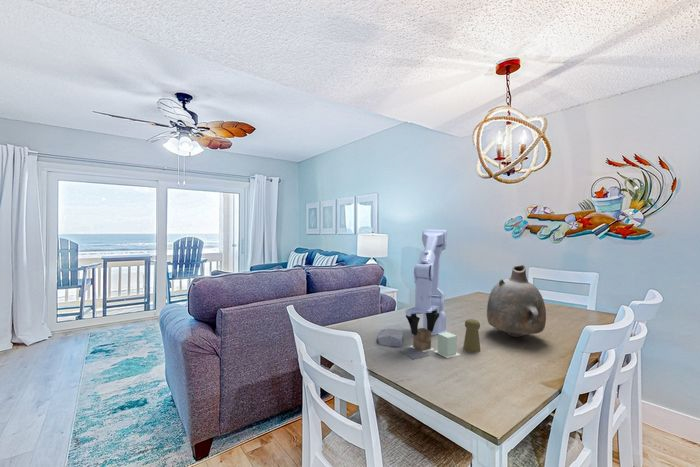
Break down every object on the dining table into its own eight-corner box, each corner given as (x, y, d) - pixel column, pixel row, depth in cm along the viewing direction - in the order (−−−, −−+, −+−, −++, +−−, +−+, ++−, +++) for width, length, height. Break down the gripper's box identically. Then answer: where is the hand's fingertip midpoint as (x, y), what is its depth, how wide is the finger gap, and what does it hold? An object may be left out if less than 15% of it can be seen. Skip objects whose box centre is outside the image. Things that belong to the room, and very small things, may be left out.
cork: (480, 347, 115) (480, 318, 114) (481, 353, 109) (482, 323, 109) (462, 345, 117) (463, 316, 116) (463, 351, 111) (464, 321, 111)
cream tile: (422, 343, 117) (422, 343, 117) (434, 349, 112) (434, 349, 112) (409, 346, 114) (409, 346, 114) (421, 353, 109) (421, 352, 109)
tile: (446, 348, 113) (446, 348, 113) (460, 355, 108) (460, 354, 108) (433, 351, 110) (433, 351, 110) (447, 358, 104) (447, 358, 104)
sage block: (446, 349, 112) (447, 331, 112) (456, 354, 108) (456, 335, 108) (437, 351, 110) (438, 333, 110) (447, 356, 106) (447, 337, 106)
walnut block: (422, 344, 116) (422, 327, 116) (430, 348, 112) (431, 331, 112) (413, 346, 114) (413, 329, 114) (421, 351, 110) (421, 333, 110)
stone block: (377, 350, 115) (404, 347, 113) (375, 338, 115) (401, 334, 113) (380, 340, 127) (404, 337, 125) (378, 328, 127) (402, 325, 125)
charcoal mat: (415, 348, 112) (415, 347, 112) (429, 356, 106) (429, 355, 106) (400, 352, 109) (400, 351, 109) (413, 360, 103) (413, 358, 103)
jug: (472, 331, 132) (474, 262, 132) (504, 324, 142) (506, 260, 141) (527, 352, 111) (529, 270, 110) (561, 343, 120) (563, 267, 120)
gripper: (415, 300, 106) (414, 339, 106) (445, 296, 112) (444, 333, 113) (402, 296, 112) (401, 333, 112) (432, 293, 119) (431, 327, 119)
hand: (422, 332), depth 113 cm, fingers open, 7 cm apart
